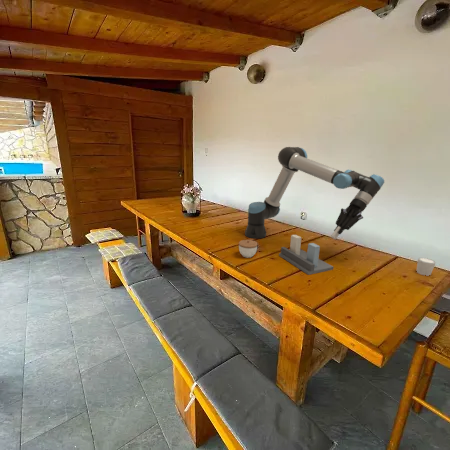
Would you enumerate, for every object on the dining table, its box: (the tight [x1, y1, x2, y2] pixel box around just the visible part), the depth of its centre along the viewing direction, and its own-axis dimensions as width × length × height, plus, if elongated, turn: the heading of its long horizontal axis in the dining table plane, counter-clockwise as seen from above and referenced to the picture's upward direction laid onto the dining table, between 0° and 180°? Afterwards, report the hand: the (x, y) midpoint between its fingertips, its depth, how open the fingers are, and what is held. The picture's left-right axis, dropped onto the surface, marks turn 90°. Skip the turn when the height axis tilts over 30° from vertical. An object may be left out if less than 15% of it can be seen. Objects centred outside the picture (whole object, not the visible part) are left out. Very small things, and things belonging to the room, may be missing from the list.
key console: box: [278, 246, 334, 275], centre depth 132 cm, size 25×16×5 cm, turn 22°
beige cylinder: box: [416, 257, 437, 277], centre depth 122 cm, size 7×7×7 cm
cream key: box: [289, 234, 302, 255], centre depth 137 cm, size 5×3×11 cm, turn 22°
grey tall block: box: [306, 242, 321, 267], centre depth 124 cm, size 5×3×11 cm, turn 22°
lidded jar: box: [238, 239, 258, 259], centre depth 139 cm, size 11×11×9 cm
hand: (333, 237), depth 129 cm, fingers closed
